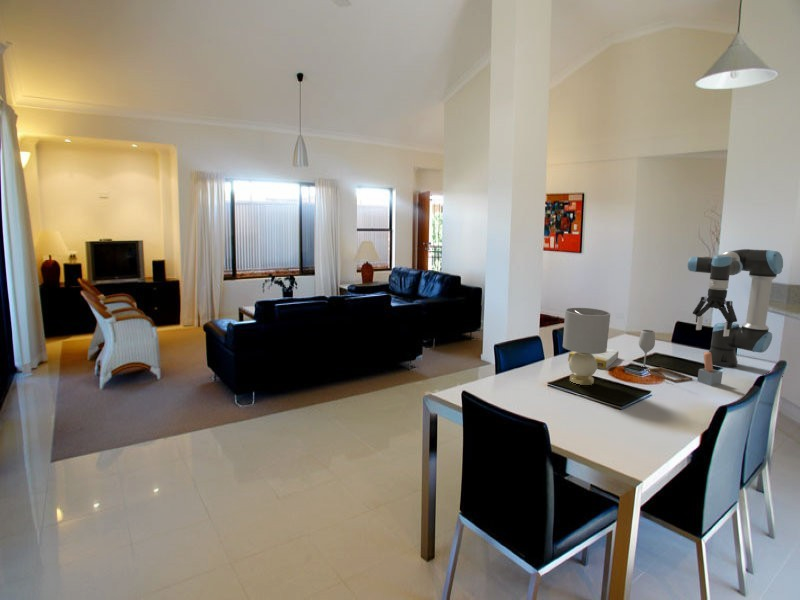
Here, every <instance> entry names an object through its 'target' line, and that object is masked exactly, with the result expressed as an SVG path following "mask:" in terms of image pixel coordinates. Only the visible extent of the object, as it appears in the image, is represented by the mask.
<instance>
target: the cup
mask: <svg viewBox="0 0 800 600" xmlns="http://www.w3.org/2000/svg"><path fill="white" fill-rule="evenodd" d="M722 380H723V371H720V370H717V369H714V368H713V373H711V372H708V371H705V367H704V368H699V369H698V372H697V380H696V381H697V383H700V384H704V385H705V386H709V387H714V386H719V385H722Z"/></svg>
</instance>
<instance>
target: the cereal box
mask: <svg viewBox="0 0 800 600" xmlns="http://www.w3.org/2000/svg"><path fill="white" fill-rule="evenodd" d="M574 353H576V352H574V351H571V352H569V353H568V359H567V361H568V362H569V360H570V358H571V356H572V355H573V354H574ZM592 355H593V356H594V357H595V359H596V361H597V369H600V370H601V369H602V370H606V369H608V367H610V366H611V365H612V364H613V363H614V362H615V361H616V360H617V359H618V358H619V350H616V349H611V348H607V351H606V352H604V353H600V354H592Z"/></svg>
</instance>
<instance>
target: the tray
mask: <svg viewBox="0 0 800 600" xmlns="http://www.w3.org/2000/svg"><path fill="white" fill-rule="evenodd" d="M644 370H646V371H648V372H649V373H650V374H649V375H651V376H656V377H658V378H660V379H661V381H662V382H664V380H665V381H666V380H667V381H669V382H672V383H680V382H688V381H692V380H693V377H691V376H688V375H685V374H682V373H679V372H675V371H674V370H669V369H667V368H664V367H661V366H660V367H652V368H650V369H644ZM649 370H650V371H649ZM665 372H666V373H669V374H672V375H675V376H678V377H680V378H676V379H673V378H671V377H669V376H665V375H662V374H660V373H665ZM663 379H664V380H663ZM667 381H666V383H667V384H671V385H674V386H675V384H672V383H669V382H667Z"/></svg>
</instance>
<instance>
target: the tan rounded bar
mask: <svg viewBox="0 0 800 600" xmlns="http://www.w3.org/2000/svg"><path fill="white" fill-rule="evenodd" d="M703 363H704V368H705V371H708V372H711V373H713V369H714V367H713V366H714V365H713V364H712V355H711V352H709V351H704V352H703Z"/></svg>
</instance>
